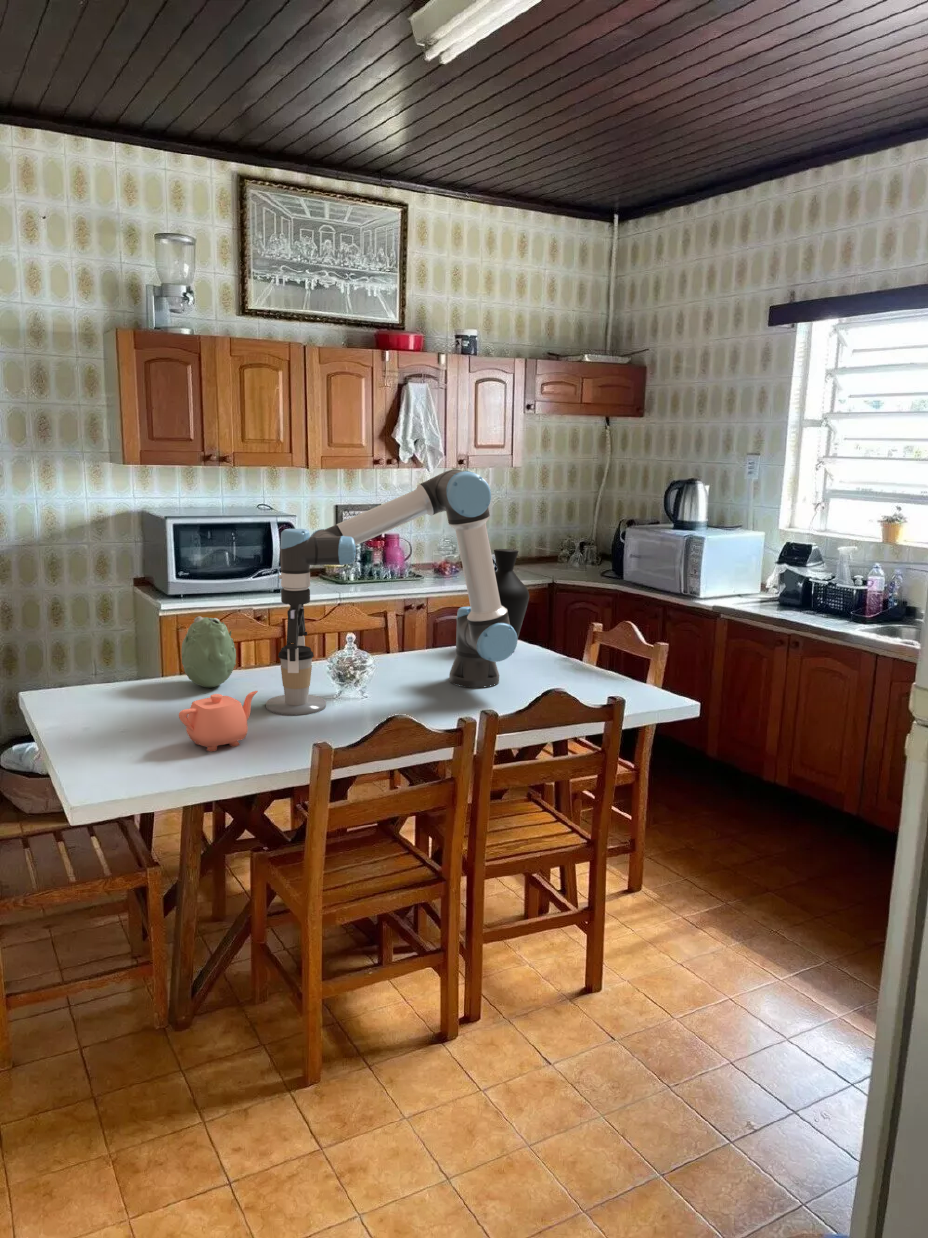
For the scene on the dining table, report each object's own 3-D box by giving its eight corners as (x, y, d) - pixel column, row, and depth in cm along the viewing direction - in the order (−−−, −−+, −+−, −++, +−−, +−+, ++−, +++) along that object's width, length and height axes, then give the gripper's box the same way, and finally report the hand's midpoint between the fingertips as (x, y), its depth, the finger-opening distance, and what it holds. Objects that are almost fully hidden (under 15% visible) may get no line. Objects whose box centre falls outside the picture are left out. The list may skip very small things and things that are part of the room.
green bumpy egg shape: (192, 698, 252) (190, 627, 248) (173, 681, 268) (170, 614, 264) (247, 690, 261) (246, 622, 257) (225, 675, 276) (224, 609, 272)
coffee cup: (317, 698, 252) (317, 645, 249) (308, 708, 243) (308, 653, 240) (284, 696, 253) (283, 643, 250) (274, 706, 244) (273, 651, 241)
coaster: (328, 698, 256) (328, 694, 256) (322, 715, 241) (322, 712, 241) (270, 697, 256) (270, 693, 255) (261, 714, 240) (261, 711, 240)
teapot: (192, 759, 207) (190, 708, 205) (169, 744, 216) (167, 695, 213) (270, 741, 220) (269, 693, 218) (246, 728, 229) (245, 682, 226)
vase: (505, 659, 305) (509, 555, 298) (466, 650, 316) (470, 549, 309) (536, 651, 318) (541, 551, 311) (498, 643, 329) (502, 546, 322)
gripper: (287, 579, 254) (288, 654, 258) (273, 596, 229) (275, 678, 234) (315, 580, 254) (315, 654, 258) (304, 596, 230) (305, 678, 234)
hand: (296, 666), depth 246 cm, fingers open, 13 cm apart
